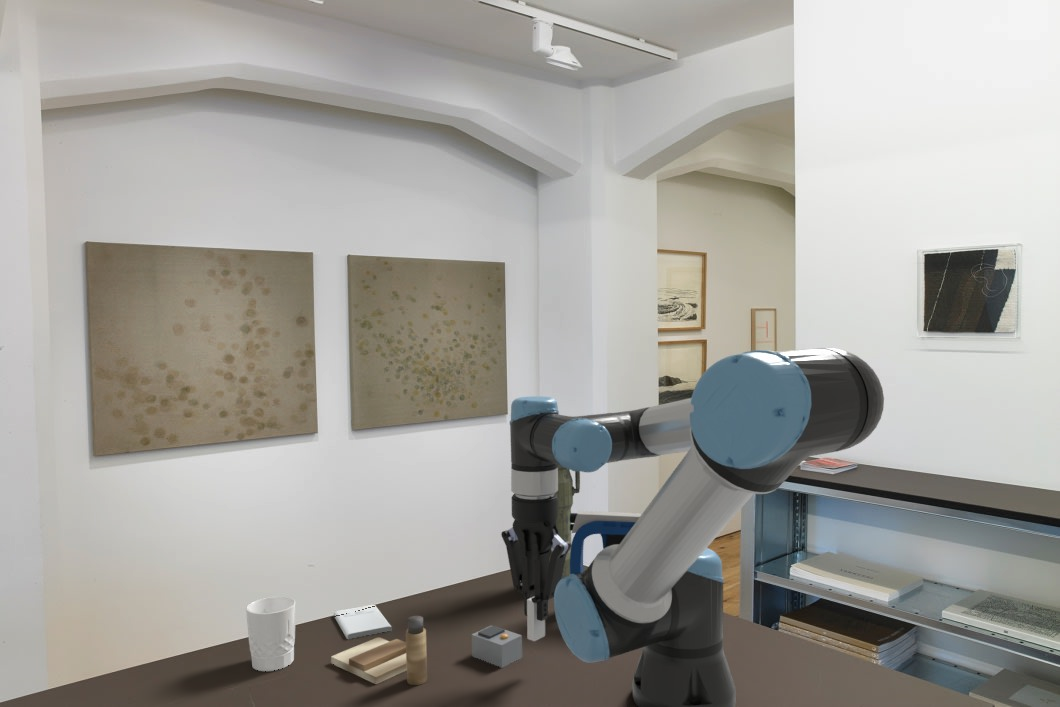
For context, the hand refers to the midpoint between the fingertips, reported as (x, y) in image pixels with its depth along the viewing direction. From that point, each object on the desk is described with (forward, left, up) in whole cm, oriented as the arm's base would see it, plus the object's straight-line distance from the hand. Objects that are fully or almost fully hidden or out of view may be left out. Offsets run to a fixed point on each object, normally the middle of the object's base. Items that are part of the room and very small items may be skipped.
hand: (536, 637), depth 126 cm
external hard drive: (+39, +5, -7) cm, 40 cm away
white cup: (+37, +25, -6) cm, 45 cm away
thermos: (+23, -33, -6) cm, 41 cm away
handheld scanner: (+5, -29, -6) cm, 30 cm away
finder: (+9, 0, -6) cm, 11 cm away
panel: (+23, +14, -6) cm, 28 cm away
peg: (+13, +14, -6) cm, 20 cm away
